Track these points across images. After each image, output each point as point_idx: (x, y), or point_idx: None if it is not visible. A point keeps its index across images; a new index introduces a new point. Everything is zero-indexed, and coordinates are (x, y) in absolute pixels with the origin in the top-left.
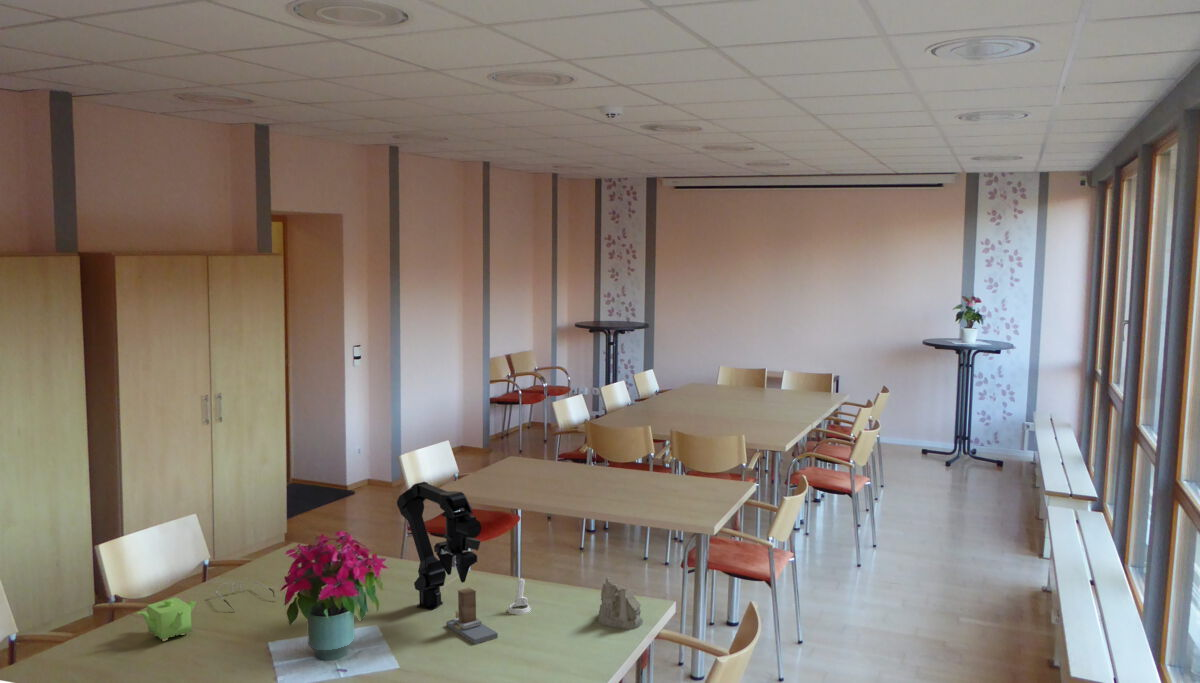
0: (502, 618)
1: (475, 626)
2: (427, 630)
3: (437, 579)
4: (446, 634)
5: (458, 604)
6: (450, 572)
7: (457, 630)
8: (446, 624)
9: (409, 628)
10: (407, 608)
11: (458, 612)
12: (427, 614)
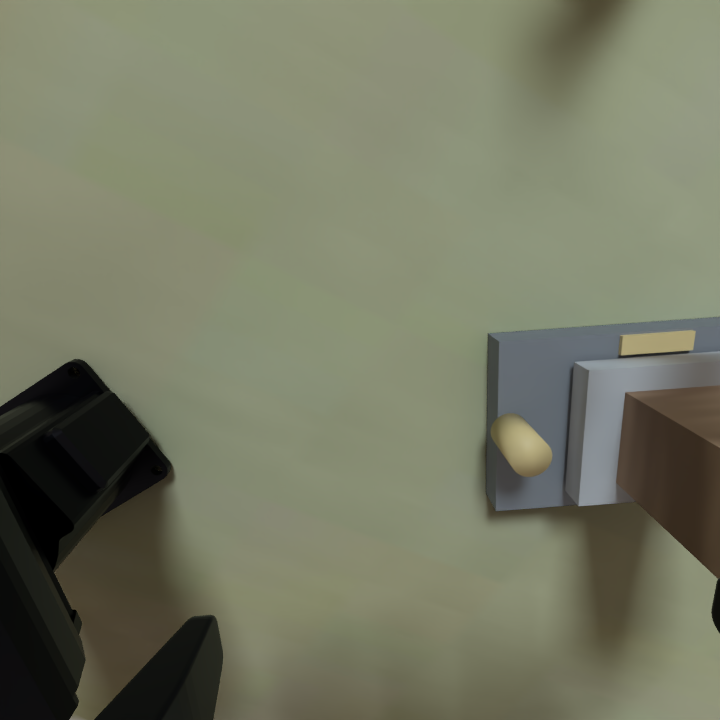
0: (643, 90)
1: None
2: (471, 598)
3: (31, 606)
4: (598, 537)
5: (706, 566)
6: (206, 653)
7: None
8: (489, 498)
9: (380, 660)
10: (60, 578)
11: (549, 461)
12: (231, 516)
